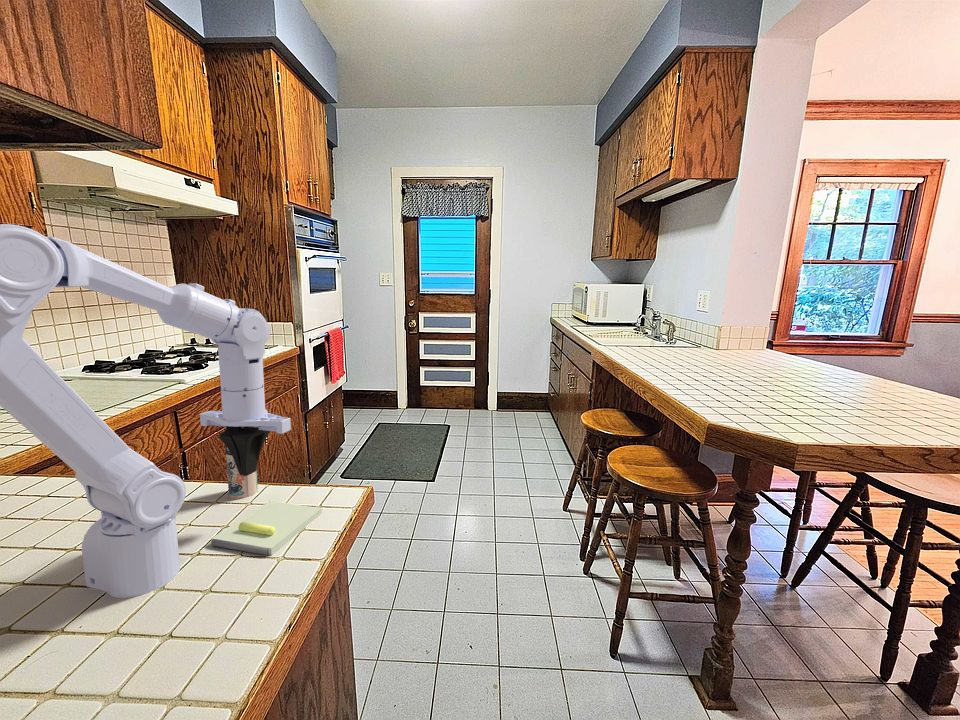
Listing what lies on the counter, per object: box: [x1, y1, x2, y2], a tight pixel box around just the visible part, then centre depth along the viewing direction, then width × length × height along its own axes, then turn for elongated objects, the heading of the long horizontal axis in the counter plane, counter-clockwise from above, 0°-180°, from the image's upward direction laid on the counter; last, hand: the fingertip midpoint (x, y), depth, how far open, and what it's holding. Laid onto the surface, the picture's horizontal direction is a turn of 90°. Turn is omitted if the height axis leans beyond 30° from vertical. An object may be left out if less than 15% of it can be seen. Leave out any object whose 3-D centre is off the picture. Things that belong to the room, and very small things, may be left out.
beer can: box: [224, 444, 259, 500], centre depth 76 cm, size 5×5×12 cm
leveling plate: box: [210, 500, 323, 556], centre depth 65 cm, size 10×12×2 cm
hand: (248, 473), depth 65 cm, fingers closed
